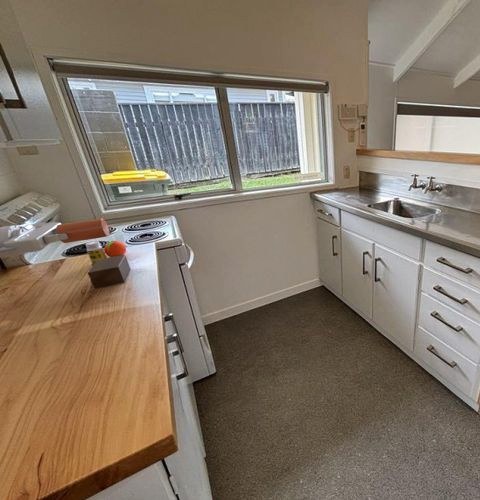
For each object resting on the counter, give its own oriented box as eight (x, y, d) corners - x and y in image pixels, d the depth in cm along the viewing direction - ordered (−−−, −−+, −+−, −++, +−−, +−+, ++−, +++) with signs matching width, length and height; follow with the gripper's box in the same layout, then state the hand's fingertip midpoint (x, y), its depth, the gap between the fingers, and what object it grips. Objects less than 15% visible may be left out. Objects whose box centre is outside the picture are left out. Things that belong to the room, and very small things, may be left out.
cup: (62, 245, 87) (53, 227, 85) (69, 240, 92) (60, 222, 90) (106, 238, 92) (99, 220, 90) (110, 233, 97) (104, 216, 94)
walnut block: (94, 289, 92) (87, 272, 90) (104, 274, 102) (97, 259, 99) (124, 282, 95) (118, 266, 93) (130, 269, 105) (125, 254, 103)
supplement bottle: (90, 266, 109) (81, 245, 106) (94, 261, 113) (86, 242, 110) (105, 263, 111) (97, 243, 108) (109, 259, 115) (101, 239, 112)
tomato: (122, 260, 113) (116, 243, 111) (102, 262, 112) (95, 246, 109) (131, 252, 121) (125, 237, 118) (113, 255, 119) (106, 239, 116)
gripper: (-15, 241, 74) (55, 231, 80) (22, 222, 91) (77, 215, 97) (-3, 263, 76) (64, 252, 82) (31, 240, 93) (85, 232, 99)
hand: (71, 232), depth 90 cm, fingers closed on cup, 6 cm apart
